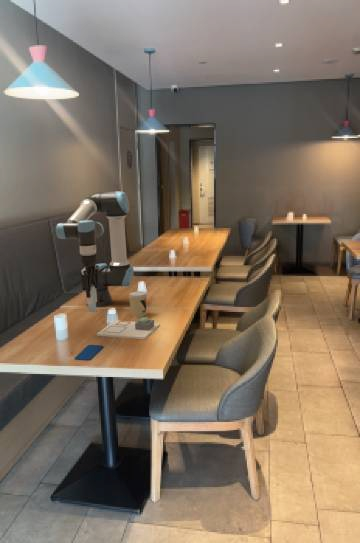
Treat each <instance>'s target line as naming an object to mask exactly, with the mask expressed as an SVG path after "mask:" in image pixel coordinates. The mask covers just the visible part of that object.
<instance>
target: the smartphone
mask: <svg viewBox="0 0 360 543" xmlns="http://www.w3.org/2000/svg"><path fill="white" fill-rule="evenodd" d="M103 349H104V345H101V344H99V345H98V344H87V345H86V346H85V347H84V348H83V349H82V350H81V351H80V352H79V353H78V354H77V355H76V356H75V357H74V360H75V361H92V359H93V358H95V357H96V355H98V354H99V353H100V352H101V351H102V350H103Z"/></svg>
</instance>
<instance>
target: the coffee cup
mask: <svg viewBox="0 0 360 543" xmlns="http://www.w3.org/2000/svg"><path fill="white" fill-rule="evenodd" d="M147 295H148V294H147V292H146V291H143V290H137V291H132V292H129V294H128V297H129V303H130V313H131V316H132V317H134V318H143V317H146V315H147V297H148V296H147Z"/></svg>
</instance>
